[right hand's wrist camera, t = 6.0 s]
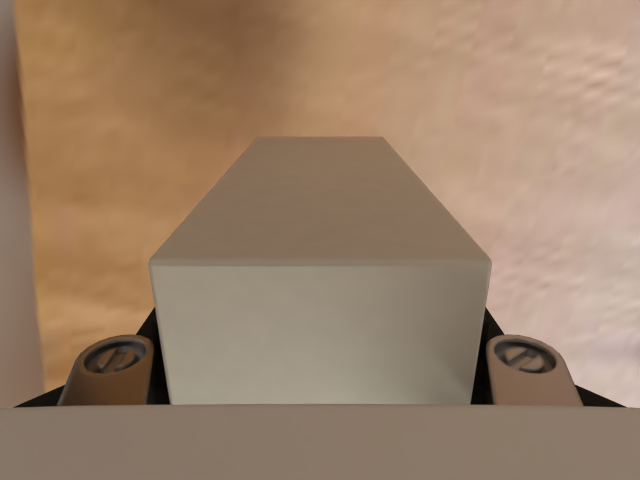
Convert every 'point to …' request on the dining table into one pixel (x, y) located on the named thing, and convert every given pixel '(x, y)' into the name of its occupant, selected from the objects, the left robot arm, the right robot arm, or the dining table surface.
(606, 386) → the dining table surface
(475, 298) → the block
